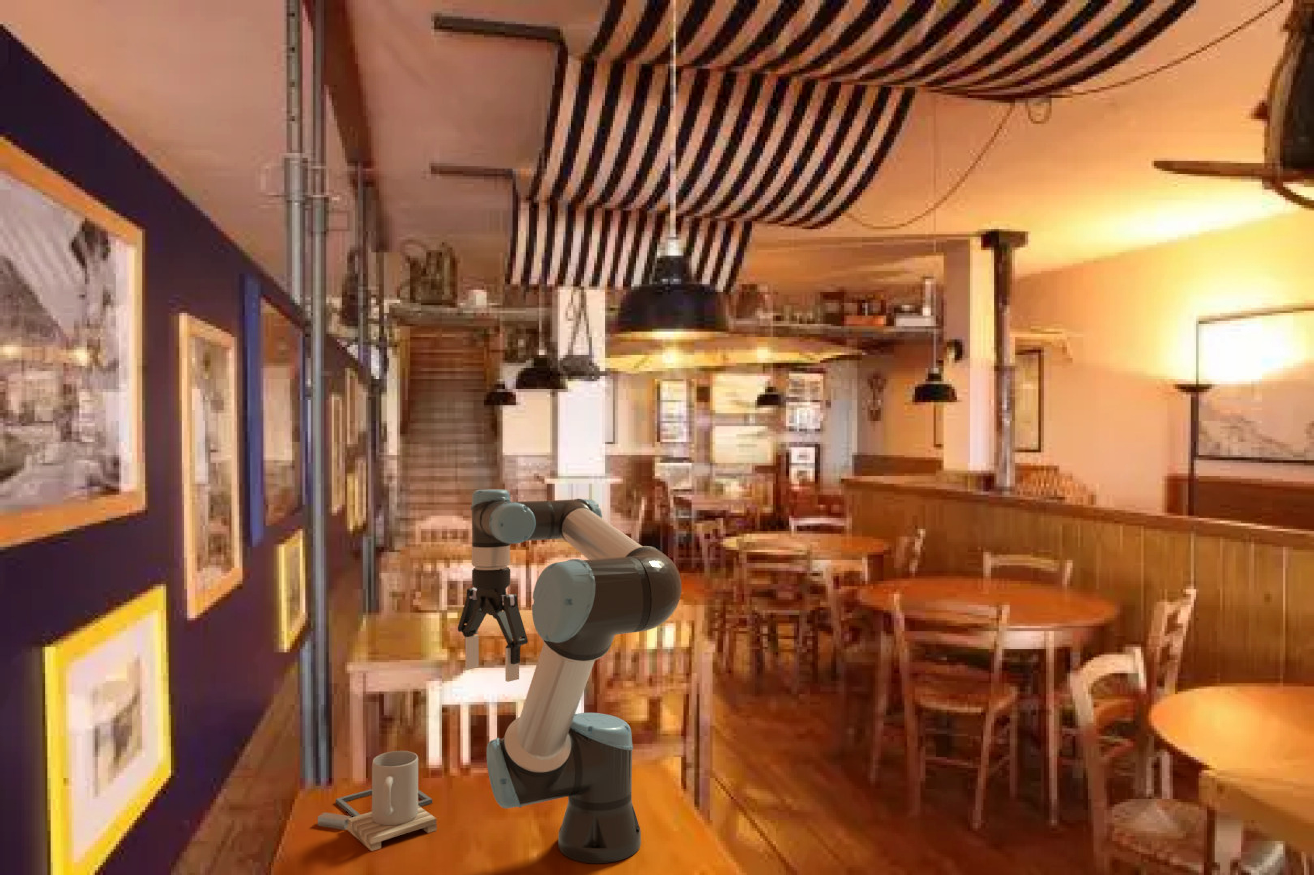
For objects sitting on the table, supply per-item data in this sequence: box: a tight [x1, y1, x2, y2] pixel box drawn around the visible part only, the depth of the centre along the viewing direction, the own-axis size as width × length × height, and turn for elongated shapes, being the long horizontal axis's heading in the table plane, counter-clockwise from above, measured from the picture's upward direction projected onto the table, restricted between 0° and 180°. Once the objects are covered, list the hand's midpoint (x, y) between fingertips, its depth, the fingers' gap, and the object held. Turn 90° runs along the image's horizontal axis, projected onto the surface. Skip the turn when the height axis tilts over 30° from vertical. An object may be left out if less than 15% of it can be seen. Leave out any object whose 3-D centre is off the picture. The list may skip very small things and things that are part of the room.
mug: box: [371, 750, 419, 826], centre depth 167 cm, size 12×8×11 cm
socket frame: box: [335, 788, 433, 817], centre depth 180 cm, size 13×15×1 cm
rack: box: [346, 806, 438, 852], centre depth 168 cm, size 11×13×2 cm
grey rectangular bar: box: [317, 812, 352, 831], centre depth 170 cm, size 6×2×2 cm, turn 73°
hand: (491, 674), depth 176 cm, fingers open, 13 cm apart
